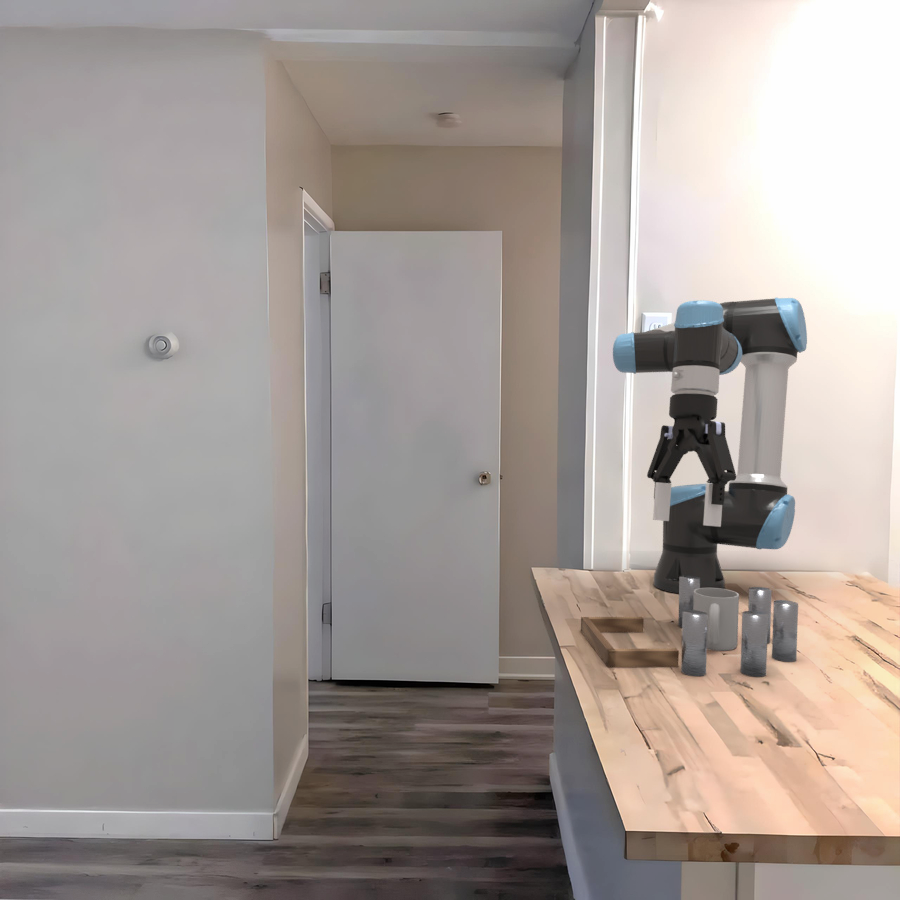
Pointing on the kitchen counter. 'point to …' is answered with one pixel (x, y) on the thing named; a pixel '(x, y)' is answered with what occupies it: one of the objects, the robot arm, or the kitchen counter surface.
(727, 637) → the cup
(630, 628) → the bay
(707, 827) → the kitchen counter surface
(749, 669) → the spacers
